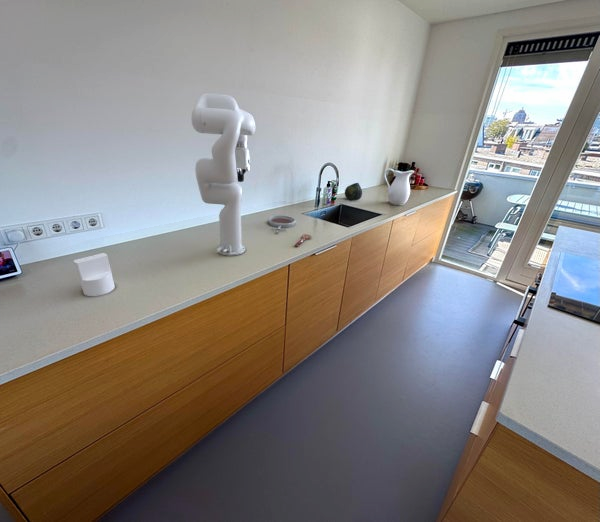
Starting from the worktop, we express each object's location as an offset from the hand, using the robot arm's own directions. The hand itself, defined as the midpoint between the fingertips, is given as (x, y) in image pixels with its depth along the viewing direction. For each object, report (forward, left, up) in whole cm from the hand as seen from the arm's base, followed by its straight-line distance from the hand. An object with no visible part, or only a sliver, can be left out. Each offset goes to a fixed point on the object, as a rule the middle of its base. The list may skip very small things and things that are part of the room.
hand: (240, 181), depth 155 cm
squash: (+111, -41, -26) cm, 121 cm away
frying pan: (+13, -19, -26) cm, 34 cm away
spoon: (-3, -39, -26) cm, 47 cm away
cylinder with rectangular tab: (-81, +6, -26) cm, 86 cm away
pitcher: (+121, -74, -26) cm, 144 cm away
